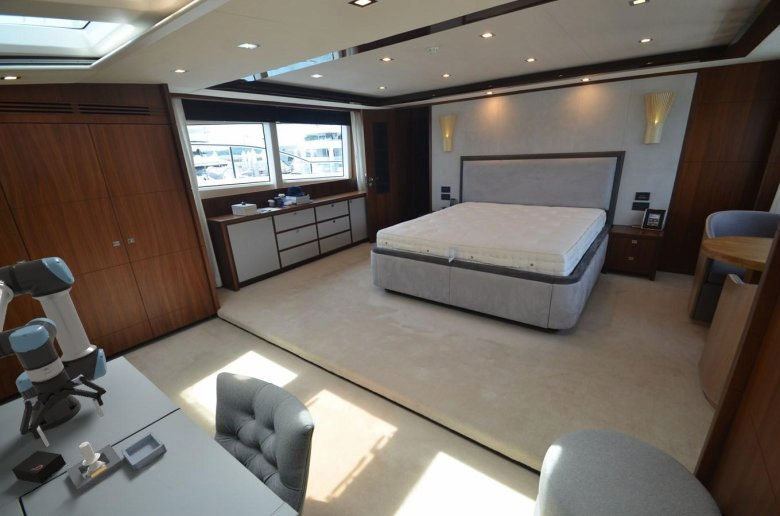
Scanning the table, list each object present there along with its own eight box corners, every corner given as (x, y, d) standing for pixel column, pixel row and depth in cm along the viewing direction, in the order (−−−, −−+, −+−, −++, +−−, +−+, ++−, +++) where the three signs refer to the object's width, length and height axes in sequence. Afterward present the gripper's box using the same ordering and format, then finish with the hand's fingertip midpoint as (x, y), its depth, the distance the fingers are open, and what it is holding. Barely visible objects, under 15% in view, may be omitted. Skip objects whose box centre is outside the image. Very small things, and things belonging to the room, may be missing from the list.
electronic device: (43, 460, 120) (37, 449, 118) (66, 464, 118) (60, 453, 116) (18, 480, 113) (11, 469, 111) (42, 484, 111) (36, 473, 109)
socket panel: (68, 474, 114) (66, 469, 113) (111, 448, 123) (109, 443, 122) (79, 493, 107) (76, 488, 106) (123, 464, 116) (121, 459, 115)
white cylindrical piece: (87, 479, 111) (73, 453, 107) (85, 470, 115) (71, 444, 111) (107, 468, 115) (94, 442, 111) (104, 459, 118) (92, 433, 114)
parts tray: (124, 456, 119) (121, 450, 118) (154, 437, 126) (151, 431, 125) (135, 472, 113) (132, 465, 112) (166, 450, 120) (164, 444, 119)
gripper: (-12, 406, 90) (23, 464, 97) (102, 356, 108) (125, 407, 116) (-16, 395, 94) (18, 452, 101) (95, 349, 113) (117, 399, 120)
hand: (75, 428), depth 108 cm, fingers open, 13 cm apart
